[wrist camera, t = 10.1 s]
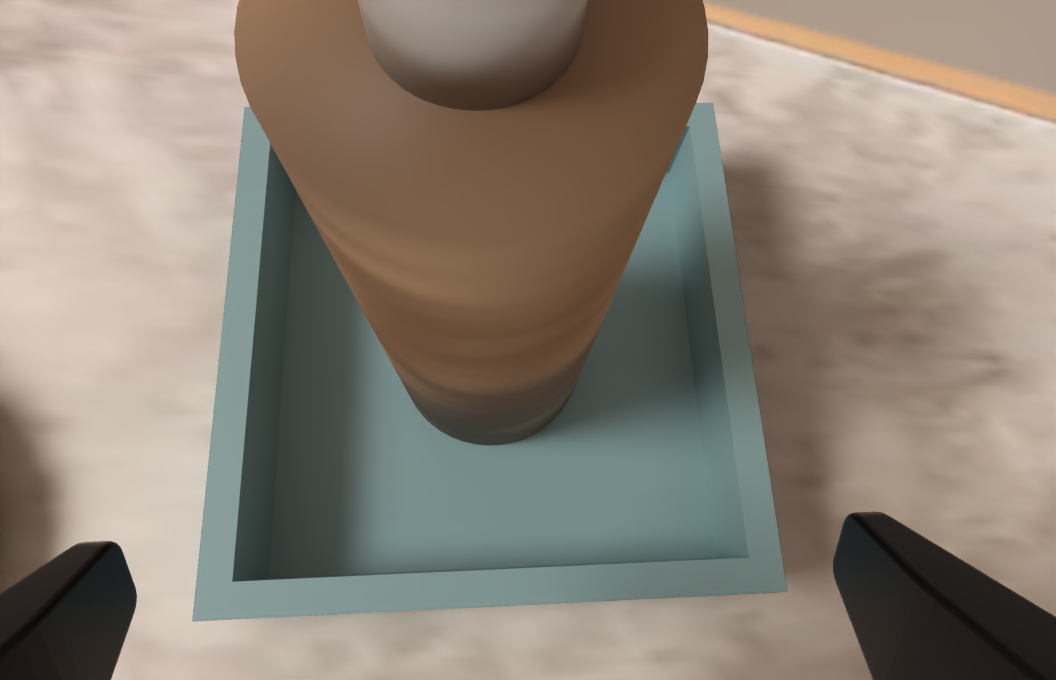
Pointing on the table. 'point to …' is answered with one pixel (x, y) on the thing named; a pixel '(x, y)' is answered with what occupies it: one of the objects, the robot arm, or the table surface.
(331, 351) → the tray
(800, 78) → the table surface
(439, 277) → the pepper mill
